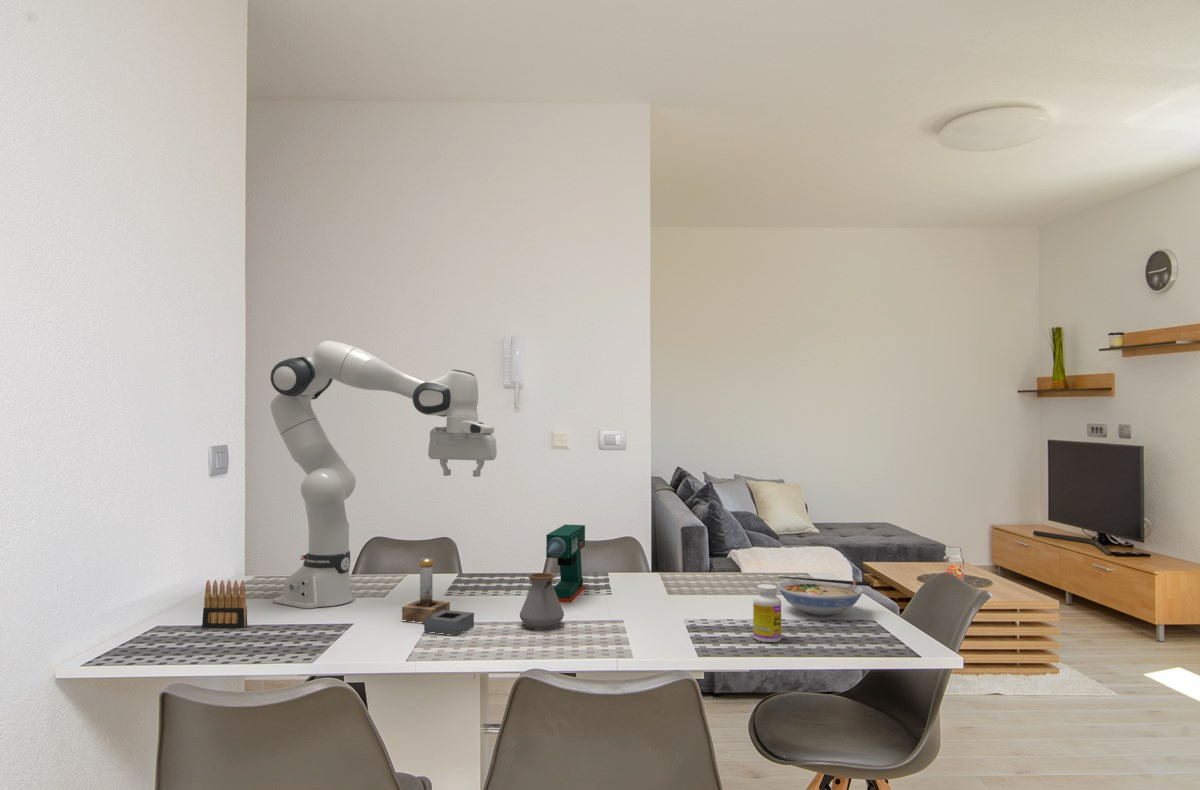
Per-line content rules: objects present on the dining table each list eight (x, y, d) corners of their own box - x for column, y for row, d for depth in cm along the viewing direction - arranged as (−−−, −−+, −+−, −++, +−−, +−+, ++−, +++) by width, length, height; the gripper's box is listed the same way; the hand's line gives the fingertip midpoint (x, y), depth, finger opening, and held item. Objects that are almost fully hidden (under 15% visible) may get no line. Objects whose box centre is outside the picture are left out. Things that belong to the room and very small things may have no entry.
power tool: (561, 615, 205) (561, 541, 205) (536, 613, 206) (536, 540, 207) (586, 589, 236) (587, 525, 237) (565, 587, 237) (565, 524, 238)
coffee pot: (517, 620, 199) (517, 563, 199) (560, 618, 201) (560, 562, 201) (525, 644, 178) (526, 580, 178) (573, 641, 180) (573, 578, 181)
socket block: (424, 632, 187) (424, 618, 187) (442, 623, 196) (443, 609, 196) (456, 636, 184) (456, 621, 185) (473, 626, 193) (473, 612, 193)
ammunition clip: (247, 626, 193) (248, 579, 193) (243, 628, 191) (244, 580, 191) (205, 626, 193) (206, 579, 193) (201, 628, 191) (202, 580, 191)
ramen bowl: (764, 617, 203) (764, 587, 203) (782, 599, 223) (782, 571, 223) (862, 629, 192) (862, 597, 192) (871, 609, 212) (871, 579, 213)
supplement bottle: (775, 645, 178) (775, 590, 178) (749, 640, 182) (749, 587, 182) (785, 638, 184) (784, 585, 184) (759, 634, 187) (758, 582, 188)
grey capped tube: (417, 616, 199) (417, 559, 200) (424, 613, 202) (424, 557, 203) (428, 617, 198) (428, 560, 199) (435, 614, 201) (435, 558, 202)
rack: (402, 621, 197) (402, 606, 198) (420, 613, 206) (420, 599, 206) (432, 624, 195) (432, 609, 195) (449, 615, 203) (449, 601, 203)
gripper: (424, 426, 213) (423, 475, 213) (489, 427, 207) (488, 477, 206) (435, 426, 219) (435, 474, 219) (499, 427, 213) (498, 476, 212)
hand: (461, 476), depth 213 cm, fingers open, 8 cm apart
